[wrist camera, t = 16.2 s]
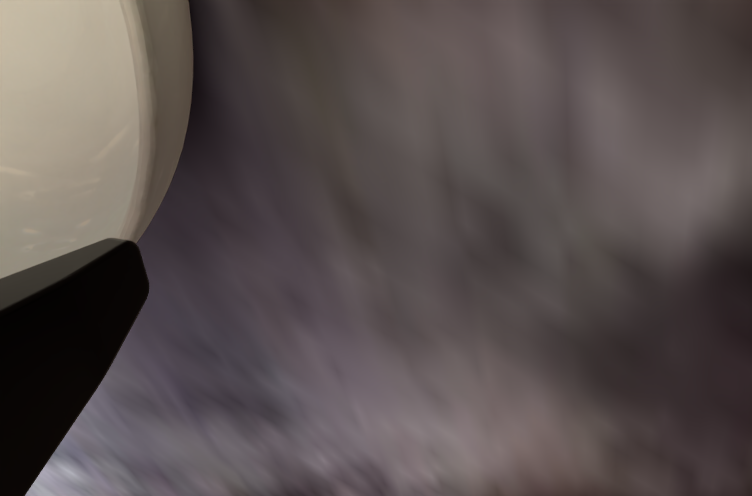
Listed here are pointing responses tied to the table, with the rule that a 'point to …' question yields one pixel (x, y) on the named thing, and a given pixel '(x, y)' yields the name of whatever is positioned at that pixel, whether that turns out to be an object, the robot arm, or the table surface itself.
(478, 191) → the table surface
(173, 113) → the serving bowl
